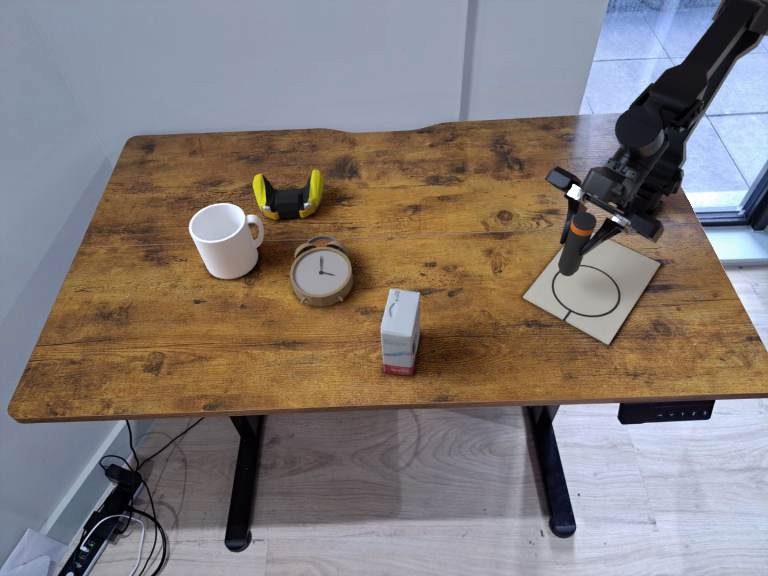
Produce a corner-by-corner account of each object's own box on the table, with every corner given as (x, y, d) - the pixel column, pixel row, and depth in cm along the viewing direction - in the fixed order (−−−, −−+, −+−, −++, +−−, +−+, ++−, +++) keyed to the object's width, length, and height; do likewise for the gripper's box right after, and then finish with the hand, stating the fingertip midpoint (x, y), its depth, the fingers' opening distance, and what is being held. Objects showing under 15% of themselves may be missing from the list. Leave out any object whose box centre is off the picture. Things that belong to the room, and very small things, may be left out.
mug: (207, 284, 95) (188, 247, 87) (206, 247, 102) (188, 209, 93) (274, 270, 97) (261, 233, 89) (268, 234, 103) (256, 195, 95)
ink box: (412, 377, 82) (412, 338, 73) (382, 372, 83) (379, 332, 73) (420, 333, 87) (421, 290, 78) (392, 328, 88) (390, 286, 78)
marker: (552, 264, 88) (569, 214, 78) (571, 260, 89) (590, 209, 79) (561, 280, 86) (579, 230, 76) (581, 275, 87) (601, 225, 77)
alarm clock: (288, 301, 89) (289, 229, 96) (293, 313, 93) (294, 244, 100) (352, 296, 89) (349, 225, 96) (355, 308, 93) (351, 239, 100)
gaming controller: (258, 191, 111) (254, 223, 105) (251, 171, 107) (247, 203, 101) (326, 186, 111) (326, 218, 105) (323, 165, 107) (322, 197, 101)
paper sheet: (579, 227, 101) (580, 225, 100) (660, 264, 94) (661, 263, 94) (521, 299, 91) (522, 297, 90) (607, 346, 84) (608, 345, 83)
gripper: (566, 121, 75) (507, 212, 79) (687, 179, 66) (613, 279, 70) (583, 142, 84) (529, 223, 89) (691, 196, 75) (625, 283, 80)
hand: (570, 249), depth 82 cm, fingers closed on marker, 3 cm apart
